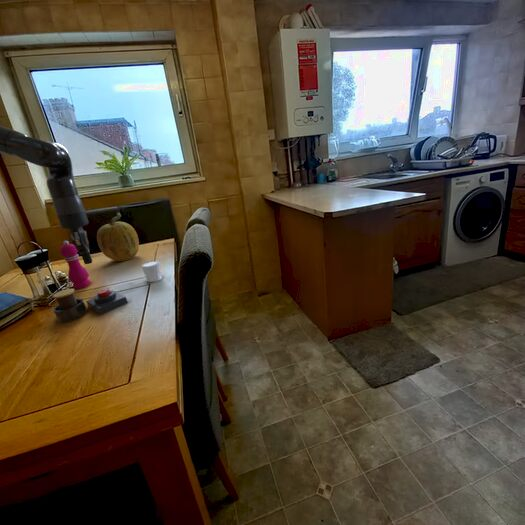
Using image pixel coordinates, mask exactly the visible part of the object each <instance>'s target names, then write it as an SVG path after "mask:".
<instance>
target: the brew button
mask: <svg viewBox="0 0 525 525" xmlns="http://www.w3.org/2000/svg"><path fill="white" fill-rule="evenodd" d="M97 294H98V296H99V298H102V297H106V296H108V295H110V289H109V288H103V289H100V290H98V291H97Z"/></svg>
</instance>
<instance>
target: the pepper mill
mask: <svg viewBox="0 0 525 525" xmlns="http://www.w3.org/2000/svg"><path fill="white" fill-rule="evenodd" d="M59 253H60V255H61V256H62V257H63V259H64V261H65V262H66V263H67V266H68V275H67V276H68V280H69V282H70V283H72V287H73V289H74V290H79V289H83V288H87V287H88V286H90V285H91V283H92V282H91V281H90V279H89V277H90V274H89V272H88V270H87V269H85V268H84V266H83V265H82V264H81V262H80V260H79V258H80V255H79V253H78V251H77V249H76V247H75V246H74V244H73V243H69V241H68V240H63V245H62V246H61V247H60V248H59Z"/></svg>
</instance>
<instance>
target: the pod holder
mask: <svg viewBox="0 0 525 525" xmlns="http://www.w3.org/2000/svg"><path fill="white" fill-rule="evenodd" d="M76 301H77V303H78V305H76V306H75V307H72V308H70V309H66V310H61V309H60V306H59V304H57V305H56V306H55V307H53V309H52V311H53V313H54V316H55V317H56V320H57V322H58V323H68V322H72V321H74V320H77V319H80V318H81V317H82V316H83V317H84V315H86V314H87V311H88V309H87V307H86V304H85V302H84V300H83V299H82V298H76Z"/></svg>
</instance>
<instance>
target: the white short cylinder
mask: <svg viewBox="0 0 525 525" xmlns="http://www.w3.org/2000/svg"><path fill="white" fill-rule="evenodd" d="M141 268H142V272H143V274H144V277H145V279H146V281H147V282H148V283H155V282H158V281H161V280H162V272H161V265H160V261H158V260H151V261H148V262H145V263H142V265H141Z"/></svg>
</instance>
